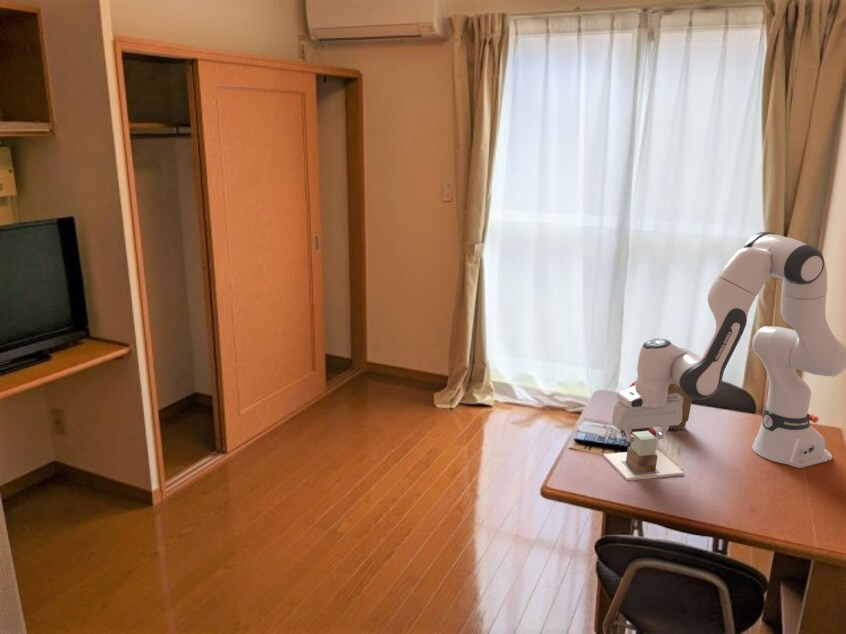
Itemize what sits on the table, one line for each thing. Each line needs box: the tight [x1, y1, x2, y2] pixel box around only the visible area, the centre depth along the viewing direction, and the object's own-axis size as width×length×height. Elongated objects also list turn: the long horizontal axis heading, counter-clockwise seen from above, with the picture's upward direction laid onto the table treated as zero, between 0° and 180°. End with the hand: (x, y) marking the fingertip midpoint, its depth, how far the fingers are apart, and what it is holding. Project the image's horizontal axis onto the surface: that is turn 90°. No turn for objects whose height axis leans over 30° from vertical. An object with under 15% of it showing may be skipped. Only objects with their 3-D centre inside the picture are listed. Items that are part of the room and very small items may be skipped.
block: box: [668, 384, 693, 431], centre depth 220 cm, size 11×8×20 cm
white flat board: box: [602, 448, 685, 482], centre depth 195 cm, size 18×14×1 cm
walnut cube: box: [626, 446, 658, 473], centre depth 192 cm, size 6×6×5 cm
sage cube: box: [629, 431, 658, 456], centre depth 191 cm, size 5×5×5 cm
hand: (644, 439), depth 191 cm, fingers open, 8 cm apart
